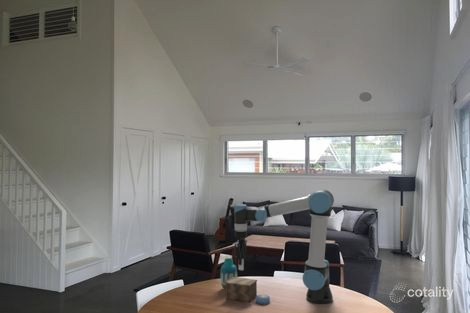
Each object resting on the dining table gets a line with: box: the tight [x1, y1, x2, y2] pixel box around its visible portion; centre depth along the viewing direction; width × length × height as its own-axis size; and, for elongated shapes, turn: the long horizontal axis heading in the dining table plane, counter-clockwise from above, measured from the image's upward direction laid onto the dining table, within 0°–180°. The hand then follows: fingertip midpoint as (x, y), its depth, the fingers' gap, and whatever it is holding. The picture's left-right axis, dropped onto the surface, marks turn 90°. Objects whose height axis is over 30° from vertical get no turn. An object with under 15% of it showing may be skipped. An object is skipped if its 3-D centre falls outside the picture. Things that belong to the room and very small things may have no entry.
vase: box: [220, 257, 238, 290], centre depth 234 cm, size 11×11×19 cm
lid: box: [225, 276, 258, 289], centre depth 217 cm, size 16×13×2 cm
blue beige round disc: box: [255, 294, 271, 305], centre depth 211 cm, size 8×8×3 cm
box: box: [225, 281, 258, 303], centre depth 218 cm, size 15×11×9 cm
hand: (241, 269), depth 218 cm, fingers closed
